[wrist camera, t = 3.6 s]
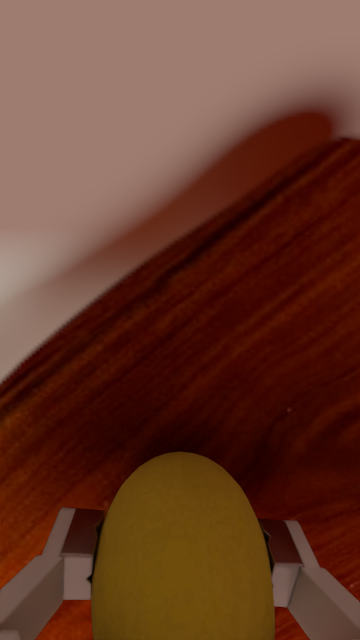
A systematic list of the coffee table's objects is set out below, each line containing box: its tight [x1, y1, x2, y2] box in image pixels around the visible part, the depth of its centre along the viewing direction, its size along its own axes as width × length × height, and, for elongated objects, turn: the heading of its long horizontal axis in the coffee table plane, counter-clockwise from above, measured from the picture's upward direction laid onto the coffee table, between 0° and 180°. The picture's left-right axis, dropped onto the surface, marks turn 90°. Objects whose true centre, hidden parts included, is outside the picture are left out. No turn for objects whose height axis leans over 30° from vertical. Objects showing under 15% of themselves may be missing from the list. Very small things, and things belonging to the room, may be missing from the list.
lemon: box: [91, 452, 275, 640], centre depth 9 cm, size 6×6×8 cm
